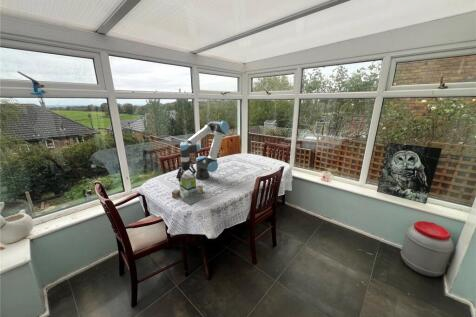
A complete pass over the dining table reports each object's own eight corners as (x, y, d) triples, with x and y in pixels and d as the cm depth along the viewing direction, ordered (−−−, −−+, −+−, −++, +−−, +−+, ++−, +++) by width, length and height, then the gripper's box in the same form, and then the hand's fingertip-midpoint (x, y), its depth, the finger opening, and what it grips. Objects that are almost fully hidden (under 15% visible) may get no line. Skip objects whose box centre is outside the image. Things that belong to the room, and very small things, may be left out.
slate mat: (195, 192, 171) (195, 191, 171) (205, 197, 163) (205, 197, 162) (180, 199, 160) (180, 198, 159) (190, 205, 151) (190, 204, 151)
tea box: (197, 190, 175) (195, 176, 170) (187, 194, 168) (186, 179, 163) (189, 185, 185) (187, 171, 180) (179, 188, 178) (178, 174, 174)
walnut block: (175, 194, 168) (175, 189, 167) (180, 195, 167) (179, 190, 165) (172, 196, 164) (171, 191, 162) (176, 197, 162) (176, 192, 161)
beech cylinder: (200, 190, 175) (200, 184, 173) (204, 192, 172) (203, 186, 170) (196, 192, 171) (195, 186, 169) (199, 194, 168) (199, 188, 166)
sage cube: (187, 193, 169) (186, 190, 168) (188, 195, 166) (188, 191, 164) (182, 195, 167) (182, 191, 165) (184, 197, 164) (183, 193, 162)
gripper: (194, 156, 179) (195, 177, 185) (170, 163, 160) (173, 185, 167) (199, 158, 174) (200, 179, 180) (175, 165, 156) (177, 187, 162)
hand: (187, 182), depth 174 cm, fingers open, 13 cm apart
